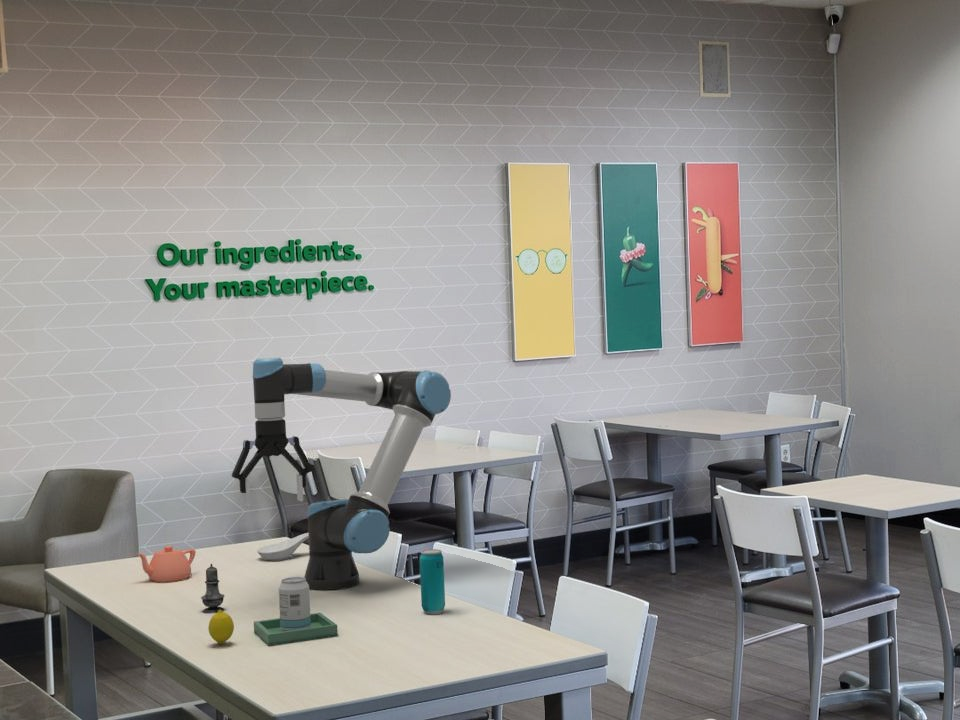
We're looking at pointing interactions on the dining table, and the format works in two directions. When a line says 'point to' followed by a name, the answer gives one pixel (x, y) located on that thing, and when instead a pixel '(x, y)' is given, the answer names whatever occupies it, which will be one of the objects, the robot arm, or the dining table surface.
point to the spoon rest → (282, 548)
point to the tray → (275, 635)
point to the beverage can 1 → (294, 604)
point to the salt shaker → (212, 592)
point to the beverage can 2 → (432, 581)
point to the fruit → (221, 627)
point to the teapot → (168, 564)
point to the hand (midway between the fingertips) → (274, 503)
